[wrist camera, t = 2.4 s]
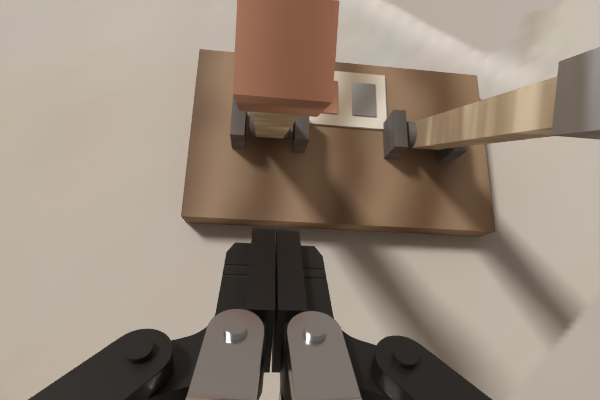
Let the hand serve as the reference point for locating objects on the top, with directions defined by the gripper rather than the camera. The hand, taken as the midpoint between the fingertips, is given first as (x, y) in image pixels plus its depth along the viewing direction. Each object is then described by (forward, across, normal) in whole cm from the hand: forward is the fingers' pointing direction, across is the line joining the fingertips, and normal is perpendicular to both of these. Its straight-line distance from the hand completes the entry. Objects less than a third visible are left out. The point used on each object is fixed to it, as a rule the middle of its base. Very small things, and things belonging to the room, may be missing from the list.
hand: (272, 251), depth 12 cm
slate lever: (+18, -12, +2) cm, 21 cm away
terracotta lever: (+18, 0, +2) cm, 18 cm away
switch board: (+20, -6, +4) cm, 21 cm away
